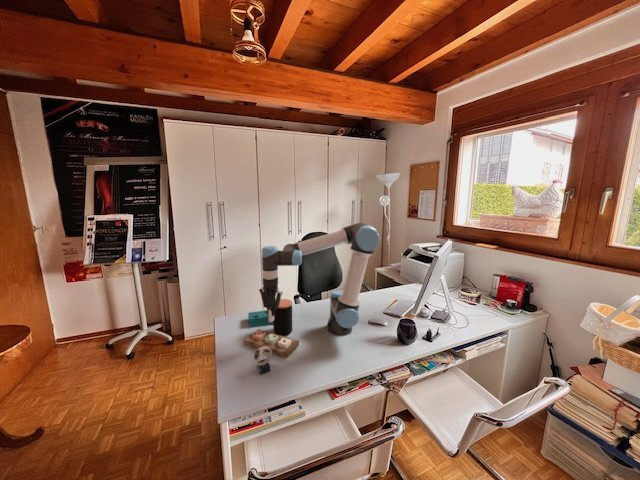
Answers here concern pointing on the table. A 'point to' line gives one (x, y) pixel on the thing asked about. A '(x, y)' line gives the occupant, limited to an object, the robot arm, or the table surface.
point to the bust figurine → (262, 364)
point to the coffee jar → (283, 318)
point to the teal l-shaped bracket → (259, 319)
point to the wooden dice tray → (274, 348)
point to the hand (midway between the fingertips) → (271, 320)
